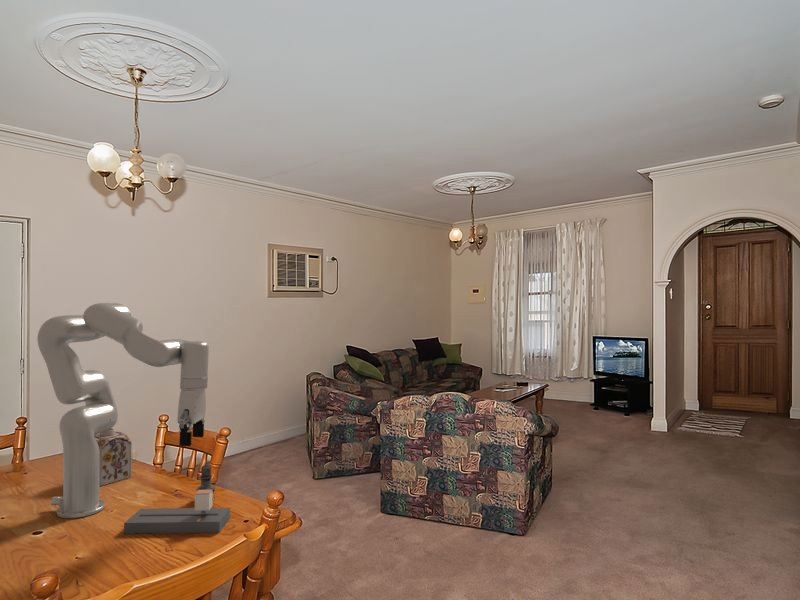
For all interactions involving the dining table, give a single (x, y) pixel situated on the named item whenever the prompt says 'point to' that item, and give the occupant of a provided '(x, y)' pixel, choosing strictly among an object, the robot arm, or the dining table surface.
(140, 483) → the dining table surface
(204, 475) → the dark chess piece
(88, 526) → the dining table surface
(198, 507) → the fader
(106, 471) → the decorative jar
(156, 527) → the console
